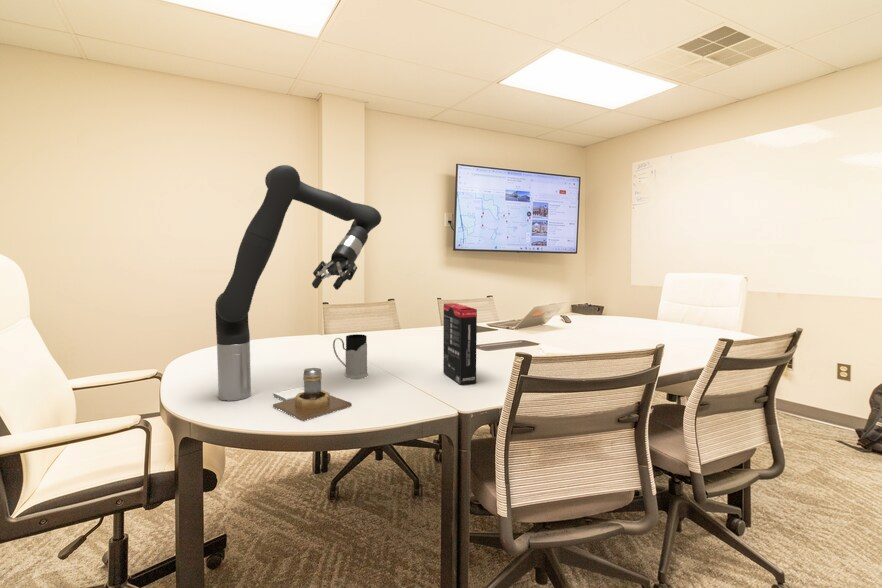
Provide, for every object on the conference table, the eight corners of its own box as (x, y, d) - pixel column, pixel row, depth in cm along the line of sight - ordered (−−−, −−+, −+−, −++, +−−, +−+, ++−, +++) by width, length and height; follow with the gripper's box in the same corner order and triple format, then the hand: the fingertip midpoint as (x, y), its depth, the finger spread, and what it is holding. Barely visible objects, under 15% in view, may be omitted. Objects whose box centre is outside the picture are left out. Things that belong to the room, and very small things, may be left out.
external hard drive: (273, 397, 136) (308, 389, 145) (286, 404, 131) (322, 394, 140) (273, 392, 136) (308, 384, 145) (285, 398, 130) (322, 389, 140)
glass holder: (360, 380, 155) (360, 338, 154) (327, 376, 160) (326, 336, 159) (372, 374, 164) (372, 335, 163) (339, 370, 168) (339, 332, 167)
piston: (300, 403, 127) (299, 370, 126) (315, 399, 131) (314, 366, 130) (310, 407, 123) (309, 373, 123) (325, 403, 127) (325, 369, 127)
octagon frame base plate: (273, 407, 126) (272, 395, 126) (320, 394, 138) (320, 384, 138) (303, 421, 116) (303, 408, 115) (351, 406, 128) (351, 394, 128)
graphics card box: (477, 384, 152) (479, 307, 150) (459, 386, 150) (460, 308, 147) (457, 372, 168) (459, 302, 166) (441, 373, 165) (442, 303, 163)
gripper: (325, 243, 146) (301, 278, 137) (359, 243, 140) (337, 280, 131) (335, 259, 152) (313, 294, 142) (369, 260, 145) (348, 296, 136)
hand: (324, 287), depth 136 cm, fingers open, 8 cm apart
